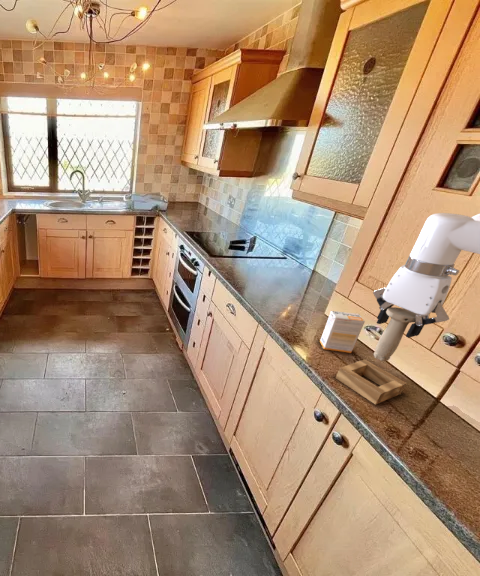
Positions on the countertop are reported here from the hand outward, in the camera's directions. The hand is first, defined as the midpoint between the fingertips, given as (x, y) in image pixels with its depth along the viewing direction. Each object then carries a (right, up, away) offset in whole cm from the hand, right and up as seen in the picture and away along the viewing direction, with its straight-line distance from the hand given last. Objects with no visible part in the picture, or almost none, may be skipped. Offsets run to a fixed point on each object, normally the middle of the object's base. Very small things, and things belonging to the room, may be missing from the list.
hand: (395, 328), depth 81 cm
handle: (0, -9, +5) cm, 10 cm away
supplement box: (+3, -10, +25) cm, 27 cm away
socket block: (0, -18, +9) cm, 20 cm away
